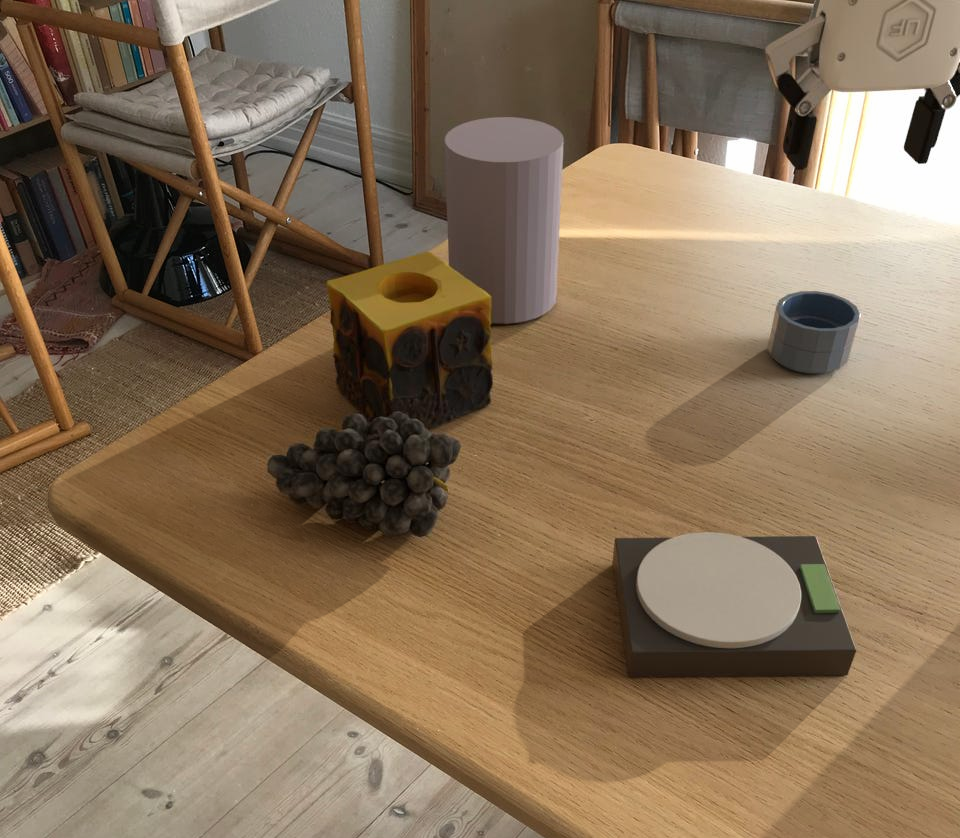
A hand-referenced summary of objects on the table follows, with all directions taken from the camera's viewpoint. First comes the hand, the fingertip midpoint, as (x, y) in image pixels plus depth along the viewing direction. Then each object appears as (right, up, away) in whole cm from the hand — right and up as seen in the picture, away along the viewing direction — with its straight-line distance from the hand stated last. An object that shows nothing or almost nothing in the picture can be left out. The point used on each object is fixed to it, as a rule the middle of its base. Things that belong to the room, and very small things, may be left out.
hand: (855, 160), depth 82 cm
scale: (-13, -36, -12) cm, 40 cm away
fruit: (-38, -28, -3) cm, 48 cm away
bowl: (0, -13, +11) cm, 17 cm away
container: (-27, -5, +19) cm, 34 cm away
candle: (-35, -17, +7) cm, 40 cm away
